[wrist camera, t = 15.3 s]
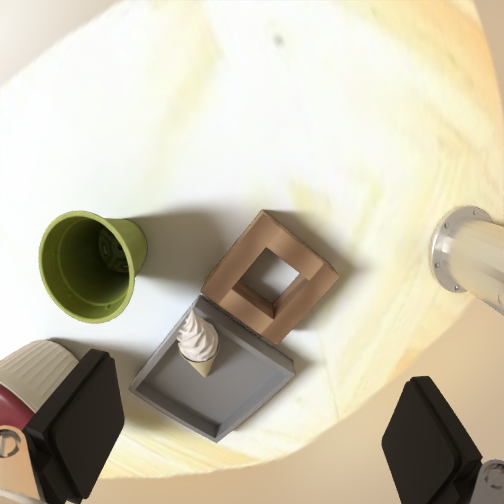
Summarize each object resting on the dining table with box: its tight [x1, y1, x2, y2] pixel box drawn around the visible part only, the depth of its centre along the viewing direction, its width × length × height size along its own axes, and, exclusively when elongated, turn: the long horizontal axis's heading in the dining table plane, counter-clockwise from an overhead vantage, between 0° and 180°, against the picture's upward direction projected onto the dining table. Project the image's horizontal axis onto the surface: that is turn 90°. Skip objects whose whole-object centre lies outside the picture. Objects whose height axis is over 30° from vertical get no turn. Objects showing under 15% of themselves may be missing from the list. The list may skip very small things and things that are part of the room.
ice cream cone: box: [177, 309, 220, 378], centre depth 38 cm, size 5×5×15 cm
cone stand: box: [201, 210, 339, 346], centre depth 38 cm, size 11×11×4 cm
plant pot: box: [39, 211, 147, 324], centre depth 35 cm, size 12×12×11 cm
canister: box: [0, 340, 79, 431], centre depth 36 cm, size 18×18×21 cm
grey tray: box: [128, 295, 295, 443], centre depth 43 cm, size 16×18×4 cm
